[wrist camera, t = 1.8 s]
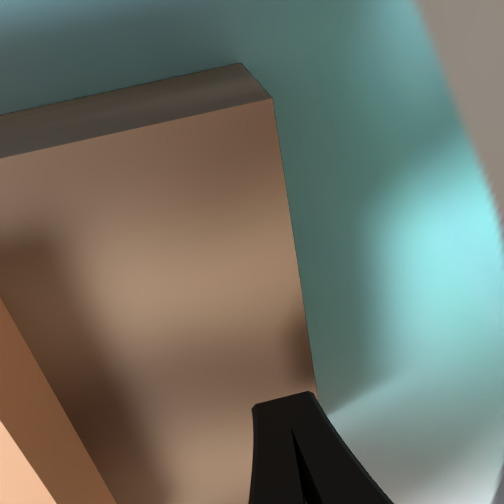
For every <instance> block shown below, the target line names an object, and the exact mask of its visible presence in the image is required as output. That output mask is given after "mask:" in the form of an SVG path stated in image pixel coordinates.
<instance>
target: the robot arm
mask: <svg viewBox="0 0 504 504" xmlns="http://www.w3.org/2000/svg"><path fill="white" fill-rule="evenodd" d="M251 410H252V418H253V459H252V472H251V483H250V493H249V502H248V504H306V503H307V504H394V503H393V502H392V501H391V500H390V499H389V498H388V496H387V495H386V494H385V493H384V492H383V491H382V489H381V488H380V487H379V486H378V485H377V483H376V482H375V481H374V480H373V479H372V477H371V476H370V475H369V474H368V472H367V471H366V470H365V469H364V467H363V466H362V465H361V463H360V462H359V461H358V460H357V458H356V457H355V456H354V455H353V453H352V452H351V451H350V449H349V448H348V447H347V445H346V444H345V442H344V441H343V440H342V438H341V437H340V435H339V434H338V432H337V431H336V430H335V428H334V427H333V425H332V424H331V422H330V421H329V419H328V417H327V416H326V414H325V413H324V411H323V409H322V408H321V406H320V404H319V402H318V401H317V399H316V397H315V395H314V393H312V392H310V391H305V392H301V393H297V394H293V395H289V396H285V397H281V398H277V399H273V400H269V401H265V402H261V403H257V404H255V405H254V406H253V407H252V409H251Z"/></svg>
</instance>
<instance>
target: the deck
mask: <svg viewBox="0 0 504 504" xmlns="http://www.w3.org/2000/svg"><path fill="white" fill-rule="evenodd" d="M0 298H1V300H2V301H3V303H4V305H5V307H6V308H7V310H8V312H9V314H10V316H11V317H12V319H13V321H14V323H15V324H16V326H17V328H18V330H19V332H20V333H21V335H22V337H23V339H24V340H25V342H26V344H27V346H28V347H29V349H30V351H31V353H32V355H33V356H34V358H35V360H36V362H37V363H38V365H39V367H40V369H41V371H42V372H43V374H44V376H45V378H46V379H47V381H48V383H49V385H50V386H51V388H52V390H53V392H54V394H55V395H56V397H57V399H58V401H59V402H60V404H61V406H62V408H63V410H64V411H65V413H66V415H67V417H68V418H69V420H70V422H71V424H72V425H73V427H74V429H75V431H76V433H77V434H78V436H79V438H80V440H81V441H82V443H83V445H84V447H85V449H86V450H87V452H88V454H89V456H90V457H91V459H92V461H93V463H94V464H95V466H96V468H97V470H98V472H99V473H100V475H101V477H102V479H103V480H104V482H105V484H106V486H107V488H108V489H109V491H110V493H111V495H112V496H113V498H114V500H115V502H116V503H117V504H248V502H249V493H250V483H251V472H252V459H253V418H252V410H251V409H252V407H253V406H254V405H255V404H257V403H261V402H265V401H269V400H273V399H277V398H281V397H285V396H289V395H293V394H297V393H301V392H305V391H310V392H312V393H314V395H315V397H316V399H317V401H318V396H317V390H316V383H315V376H314V370H313V363H312V356H311V350H310V343H309V337H308V330H307V323H306V317H305V310H304V303H303V297H302V290H301V284H300V277H299V270H298V264H297V257H296V251H295V244H294V237H293V231H292V224H291V217H290V211H289V204H288V198H287V191H286V184H285V178H284V171H283V164H282V158H281V151H280V145H279V138H278V131H277V125H276V118H275V112H274V105H273V98H272V97H271V96H270V95H269V94H268V93H267V91H266V90H265V89H264V88H263V87H262V86H261V85H260V84H259V82H258V81H257V80H256V79H255V78H254V77H253V76H252V75H251V73H250V72H249V71H248V70H247V69H246V68H245V67H244V66H243V64H242V63H238V64H233V65H228V66H224V67H219V68H215V69H210V70H205V71H201V72H196V73H192V74H187V75H182V76H178V77H173V78H169V79H164V80H159V81H155V82H150V83H146V84H141V85H136V86H132V87H127V88H123V89H118V90H114V91H109V92H104V93H100V94H95V95H91V96H86V97H81V98H77V99H72V100H68V101H63V102H58V103H54V104H49V105H45V106H40V107H35V108H31V109H26V110H22V111H17V112H12V113H8V114H3V115H0ZM306 504H307V503H306Z"/></svg>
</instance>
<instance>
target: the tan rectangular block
mask: <svg viewBox="0 0 504 504" xmlns="http://www.w3.org/2000/svg"><path fill="white" fill-rule="evenodd" d="M0 504H117V503H116V502H115V500H114V498H113V496H112V495H111V493H110V491H109V489H108V488H107V486H106V484H105V482H104V480H103V479H102V477H101V475H100V473H99V472H98V470H97V468H96V466H95V464H94V463H93V461H92V459H91V457H90V456H89V454H88V452H87V450H86V449H85V447H84V445H83V443H82V441H81V440H80V438H79V436H78V434H77V433H76V431H75V429H74V427H73V425H72V424H71V422H70V420H69V418H68V417H67V415H66V413H65V411H64V410H63V408H62V406H61V404H60V402H59V401H58V399H57V397H56V395H55V394H54V392H53V390H52V388H51V386H50V385H49V383H48V381H47V379H46V378H45V376H44V374H43V372H42V371H41V369H40V367H39V365H38V363H37V362H36V360H35V358H34V356H33V355H32V353H31V351H30V349H29V347H28V346H27V344H26V342H25V340H24V339H23V337H22V335H21V333H20V332H19V330H18V328H17V326H16V324H15V323H14V321H13V319H12V317H11V316H10V314H9V312H8V310H7V308H6V307H5V305H4V303H3V301H2V300H1V298H0Z"/></svg>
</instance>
